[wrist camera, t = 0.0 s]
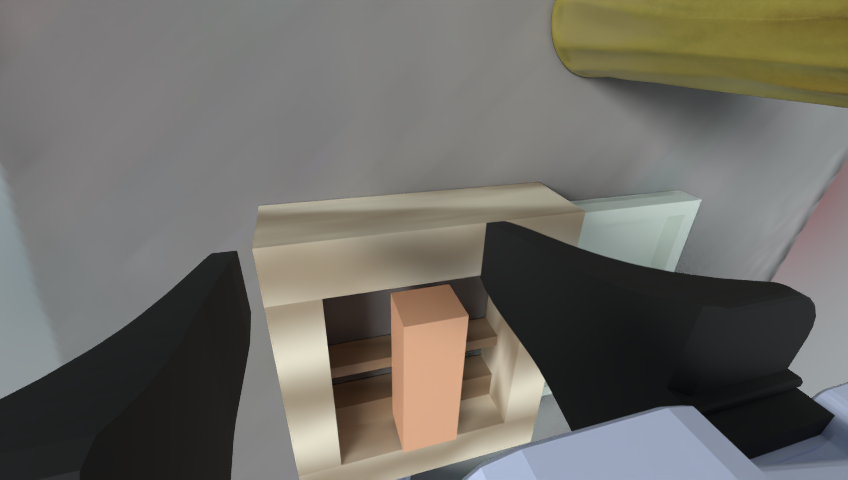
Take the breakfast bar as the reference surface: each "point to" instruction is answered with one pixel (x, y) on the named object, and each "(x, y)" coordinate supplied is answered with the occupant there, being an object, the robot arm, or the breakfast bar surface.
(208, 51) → the breakfast bar surface
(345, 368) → the block
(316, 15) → the breakfast bar surface
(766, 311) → the robot arm
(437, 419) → the slab
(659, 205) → the tray
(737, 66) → the vase
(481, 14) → the breakfast bar surface
